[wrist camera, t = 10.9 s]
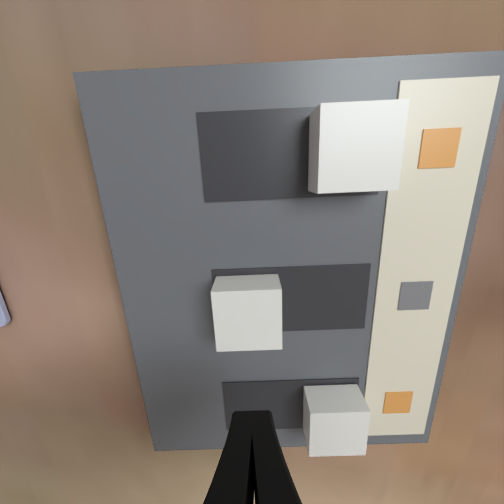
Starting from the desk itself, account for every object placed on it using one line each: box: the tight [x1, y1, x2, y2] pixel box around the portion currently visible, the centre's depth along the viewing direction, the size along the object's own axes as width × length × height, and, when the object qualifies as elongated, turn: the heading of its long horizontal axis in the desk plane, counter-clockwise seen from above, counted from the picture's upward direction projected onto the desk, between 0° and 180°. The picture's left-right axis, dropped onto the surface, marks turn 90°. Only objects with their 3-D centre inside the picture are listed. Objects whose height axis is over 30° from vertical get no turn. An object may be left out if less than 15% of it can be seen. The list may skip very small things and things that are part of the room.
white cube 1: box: [303, 384, 371, 457], centre depth 16 cm, size 4×4×2 cm
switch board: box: [73, 50, 504, 451], centre depth 16 cm, size 20×24×2 cm
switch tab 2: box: [308, 99, 410, 194], centre depth 11 cm, size 4×4×2 cm
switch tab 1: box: [211, 274, 282, 352], centre depth 14 cm, size 4×4×2 cm
